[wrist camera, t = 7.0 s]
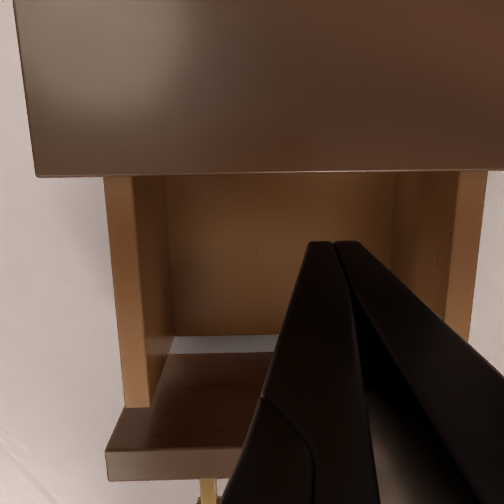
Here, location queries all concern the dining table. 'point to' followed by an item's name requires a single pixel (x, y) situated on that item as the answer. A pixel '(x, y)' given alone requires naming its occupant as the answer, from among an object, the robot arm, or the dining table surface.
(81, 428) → the dining table surface
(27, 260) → the dining table surface
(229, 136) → the cabinet
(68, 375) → the dining table surface
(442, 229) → the drawer
